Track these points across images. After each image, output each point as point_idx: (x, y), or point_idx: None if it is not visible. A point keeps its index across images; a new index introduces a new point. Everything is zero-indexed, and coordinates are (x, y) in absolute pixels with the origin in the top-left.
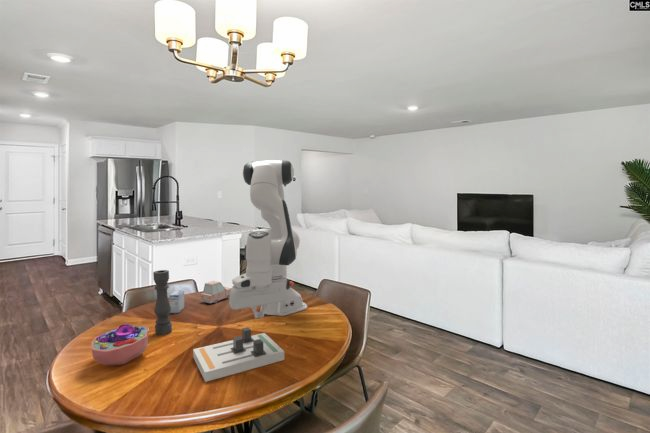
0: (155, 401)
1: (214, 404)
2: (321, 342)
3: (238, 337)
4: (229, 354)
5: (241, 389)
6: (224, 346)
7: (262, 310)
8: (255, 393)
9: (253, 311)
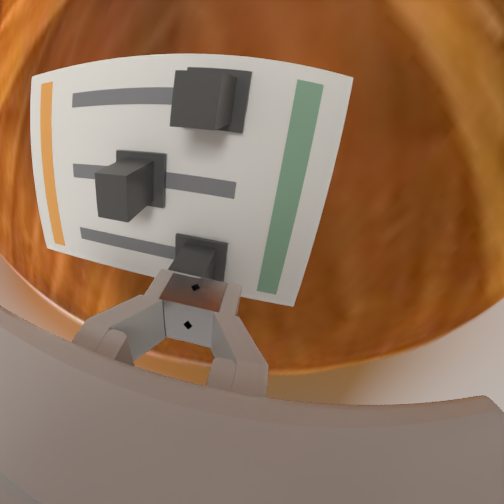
0: (8, 235)
1: (82, 312)
2: (464, 273)
3: (115, 189)
4: None
5: None
6: (107, 105)
7: (217, 351)
8: None
9: (129, 300)
